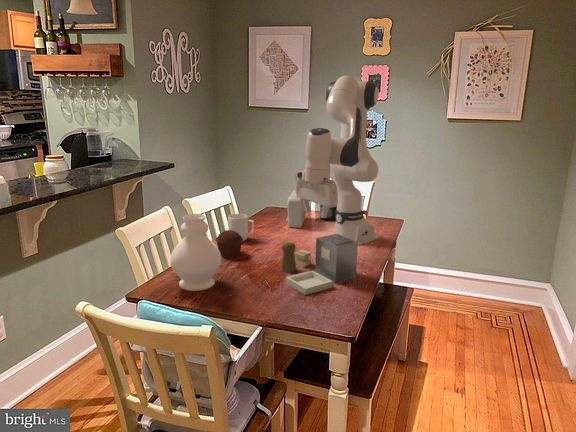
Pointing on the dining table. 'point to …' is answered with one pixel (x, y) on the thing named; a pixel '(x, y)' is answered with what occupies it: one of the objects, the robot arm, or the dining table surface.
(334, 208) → the supplement container
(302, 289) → the tray
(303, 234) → the dining table surface
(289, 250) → the cork
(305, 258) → the maple block
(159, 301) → the dining table surface
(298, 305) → the dining table surface
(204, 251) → the decorative vase
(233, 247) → the muffin
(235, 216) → the mug
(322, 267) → the box
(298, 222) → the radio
